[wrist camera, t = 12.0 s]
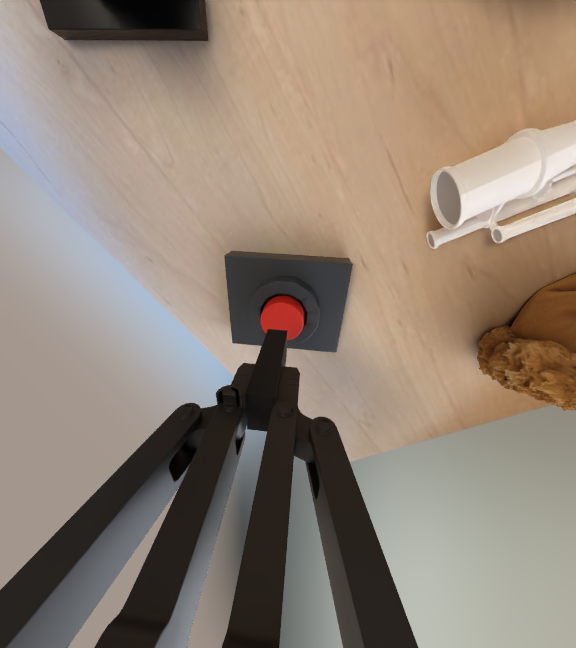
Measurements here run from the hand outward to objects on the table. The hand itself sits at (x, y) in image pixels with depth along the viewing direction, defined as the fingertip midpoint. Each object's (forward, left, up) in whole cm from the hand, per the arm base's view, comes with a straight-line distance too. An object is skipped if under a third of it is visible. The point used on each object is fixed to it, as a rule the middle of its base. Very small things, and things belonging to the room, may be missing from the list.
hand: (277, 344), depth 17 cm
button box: (0, 0, -9) cm, 9 cm away
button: (0, 0, -5) cm, 5 cm away
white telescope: (+18, +12, -9) cm, 23 cm away
